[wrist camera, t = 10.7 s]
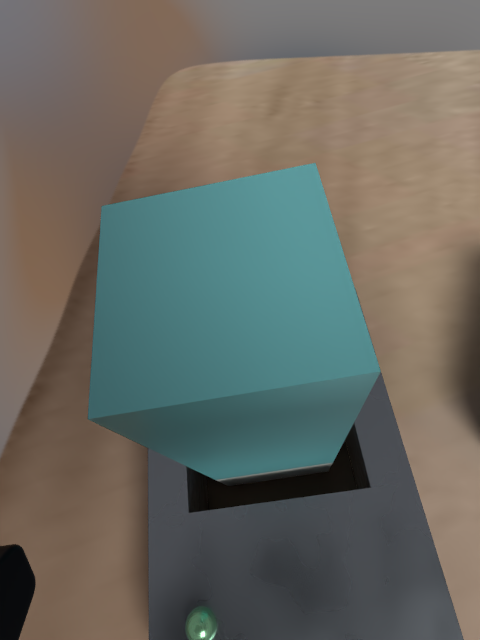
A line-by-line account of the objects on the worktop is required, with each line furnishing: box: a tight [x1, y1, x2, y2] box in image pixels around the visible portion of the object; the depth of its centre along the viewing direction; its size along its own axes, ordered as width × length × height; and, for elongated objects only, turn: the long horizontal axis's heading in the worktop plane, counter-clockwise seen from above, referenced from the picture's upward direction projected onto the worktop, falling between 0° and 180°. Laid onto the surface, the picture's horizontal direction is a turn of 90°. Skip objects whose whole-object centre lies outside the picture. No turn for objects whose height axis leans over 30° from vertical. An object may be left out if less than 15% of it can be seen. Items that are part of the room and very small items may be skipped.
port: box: [148, 290, 464, 640], centre depth 15 cm, size 14×10×4 cm
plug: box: [88, 163, 381, 486], centre depth 13 cm, size 4×4×13 cm
